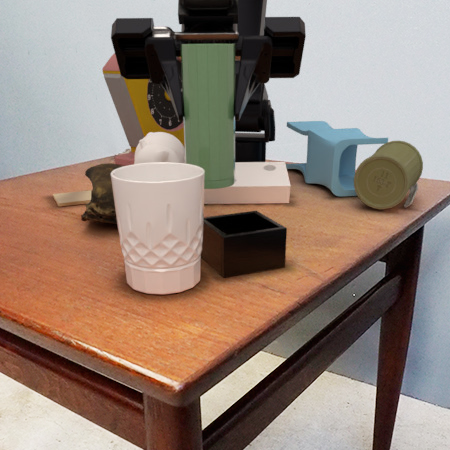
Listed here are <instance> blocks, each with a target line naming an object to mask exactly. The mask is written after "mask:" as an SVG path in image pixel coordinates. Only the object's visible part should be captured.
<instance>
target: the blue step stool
mask: <svg viewBox="0 0 450 450" xmlns="http://www.w3.org/2000/svg"><path fill="white" fill-rule="evenodd" d="M286 127H287V128H288V129H289V130H292V131H293V132H295V133H298V134H300V135H301V136H306V137H307V146H306V162H299V163H297V162H295V163H285V164H286V168H287V170H298V171H300V172H301V173H302V175H303V179H304V182H305V184H317V185H322V186H324V187H326V188H327V189H329V190H330V192H331V193H332V194H333V196H336V197H358V196H357V194H356V192H355V188H354V175H355V172H356V166H357V165H356V163H357V153H358V146H359V145H362V146H363V145H384V144H385V143H387V142H389V137H371V136H368V135H366V134H365V133H363V131H362V130H361V129H360V128H357V127H350V128H349V127H347V128H333V127H332V126H331V125H330V124H329V123H328V122H327V121H324V120H306V121H304V120H303V121H287V122H286Z"/></svg>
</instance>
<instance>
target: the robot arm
mask: <svg viewBox="0 0 450 450" xmlns="http://www.w3.org/2000/svg"><path fill="white" fill-rule="evenodd" d="M177 2H178V4H177V18H178V25H181V28H180V29H181V31H174V30H173V28H171V27H170V26H166V25H165V26H164V25H163V26H162V25H161V26H160V25H159V26H155V21H154V18H153V17H117V18H115V20H114V22H113V23H112V24H111V30H110V31H111V33H110V40H111V44H112V47H113V51H114V53H115V55H116V59H117V63H118V66H119V70H120V74H121V76H122V77H124V78H126V79H151V82H152V83H154V84H157V85H162V87H163V88H164V90H165V91H166V93H167V94H168V96H169V98H170V100H171V102H172V104H173V107H174V110H175V112H176V115H177V117H178V120H179V121H183V116H184V115H183V101H182V94H181V86H180V79H179V72H178V64H177V57H181V44H207V43H208V44H209V43H233V44H235V162H267V161H266V158H267V144H268V143H269V142H275V141H276V117H275V110H274V108H272V103H271V100H270V99H269V94H268V91H267V88H266V84H268V83H269V82H270V79H294V78H296V77H298V76H299V75H300V72H301V67H302V59H303V55H304V50H305V49H304V48H305V44H306V43H305V42H306V38H307V37H306V36H307V35H306V22H304V20H303V19H302V17H300V16H266V15H267V4H268V0H178V1H177ZM262 132H263V133H262Z"/></svg>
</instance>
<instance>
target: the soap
mask: <svg viewBox="0 0 450 450" xmlns="http://www.w3.org/2000/svg"><path fill="white" fill-rule="evenodd" d="M130 152H131V148H125V150H124V151H123V152H121V153H118V154H115V155H114V157H116V156H117V155H121V154H126V153H130Z"/></svg>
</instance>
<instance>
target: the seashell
mask: <svg viewBox="0 0 450 450" xmlns="http://www.w3.org/2000/svg"><path fill="white" fill-rule="evenodd" d="M120 167H123V166H122V165H117V164H115V163H111V162H110V163H100V164H96V165H92V166H90V167H89V168H87V169H86V170H85V172H84V176H86V178H88V179H89V181H90V182H91V187H92V189H91V190H92V191H91V201H90V202H89V203H88V204H85V211H84V212H83V213H82V214H81V215H80V217H81V218H80V219H81V220H80V221H82V222H86V221H89V222H97V223H106V224H107V223H108V224H114V225H115V224H116V225H117V218H116V211H115V203H114V196H113V189H112V181H111V172H112V171H113V170H115V169H117V168H120Z"/></svg>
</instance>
